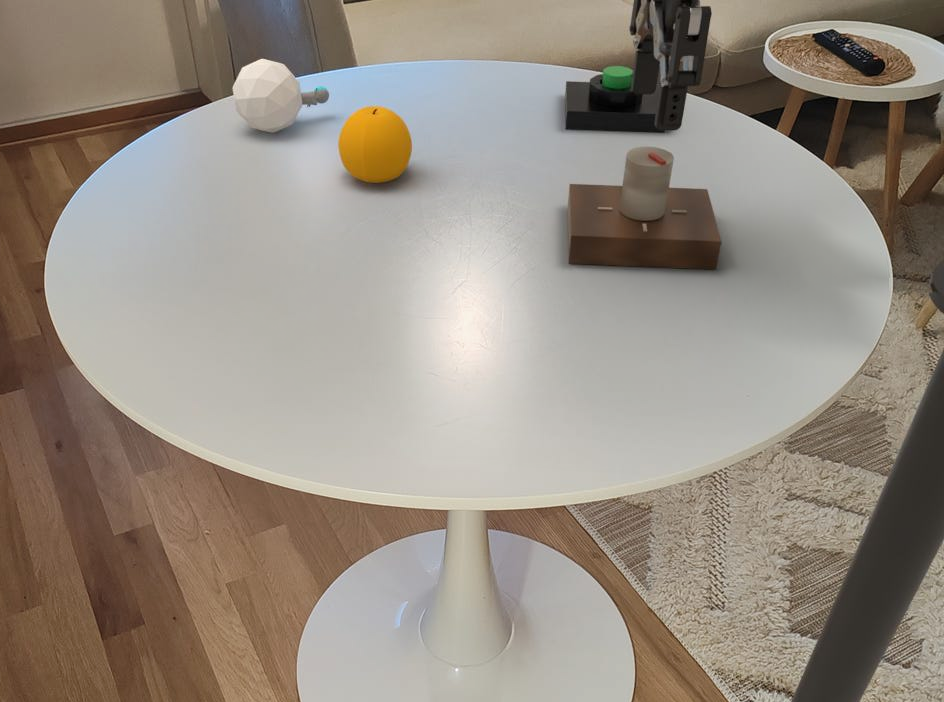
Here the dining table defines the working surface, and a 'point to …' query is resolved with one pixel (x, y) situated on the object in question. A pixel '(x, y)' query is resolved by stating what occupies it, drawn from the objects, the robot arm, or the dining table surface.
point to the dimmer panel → (641, 230)
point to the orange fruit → (375, 145)
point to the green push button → (617, 77)
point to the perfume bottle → (271, 96)
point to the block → (609, 107)
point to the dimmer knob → (646, 183)
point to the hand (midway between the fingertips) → (654, 110)
